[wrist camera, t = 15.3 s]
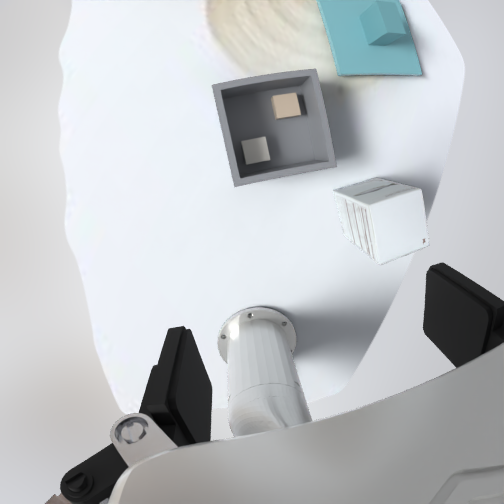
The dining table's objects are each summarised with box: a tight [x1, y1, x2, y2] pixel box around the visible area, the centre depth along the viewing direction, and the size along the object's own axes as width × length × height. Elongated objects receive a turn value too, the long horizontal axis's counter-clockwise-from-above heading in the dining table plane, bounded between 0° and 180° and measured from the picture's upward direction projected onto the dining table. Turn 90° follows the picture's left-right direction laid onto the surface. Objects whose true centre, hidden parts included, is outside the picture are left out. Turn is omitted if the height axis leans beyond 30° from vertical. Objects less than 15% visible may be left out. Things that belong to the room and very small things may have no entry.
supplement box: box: [333, 178, 429, 265], centre depth 37 cm, size 7×7×13 cm
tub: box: [212, 69, 337, 187], centre depth 35 cm, size 12×12×7 cm
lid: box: [316, 0, 422, 76], centre depth 31 cm, size 14×14×8 cm
